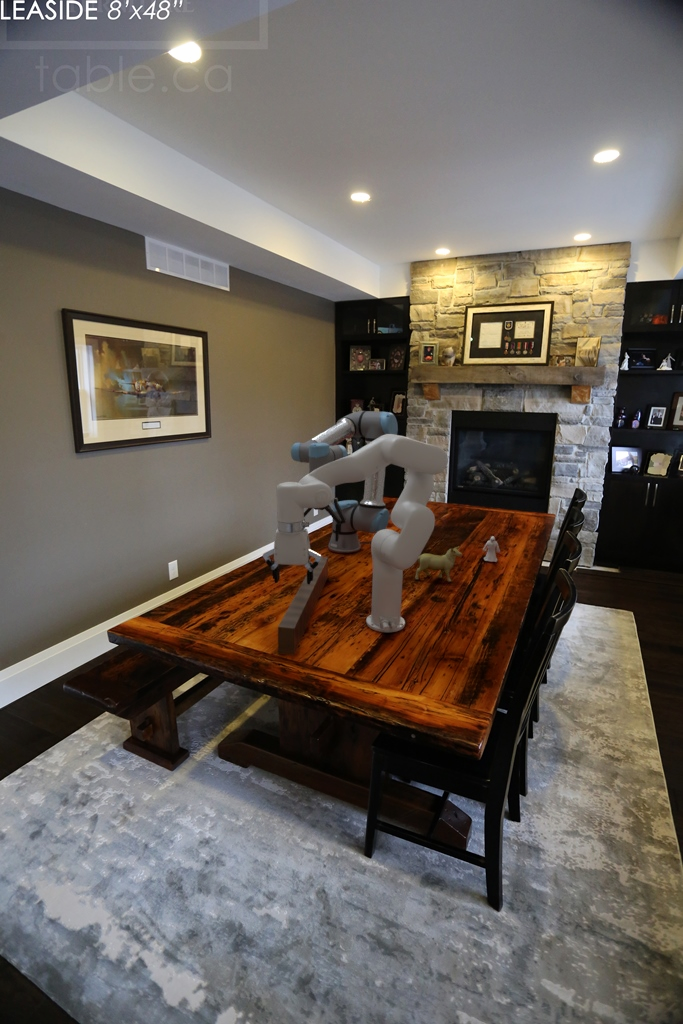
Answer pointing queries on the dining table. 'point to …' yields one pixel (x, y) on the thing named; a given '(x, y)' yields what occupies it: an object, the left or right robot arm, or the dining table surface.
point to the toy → (438, 563)
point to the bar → (301, 610)
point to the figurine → (491, 550)
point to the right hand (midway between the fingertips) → (293, 581)
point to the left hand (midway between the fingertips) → (319, 539)
